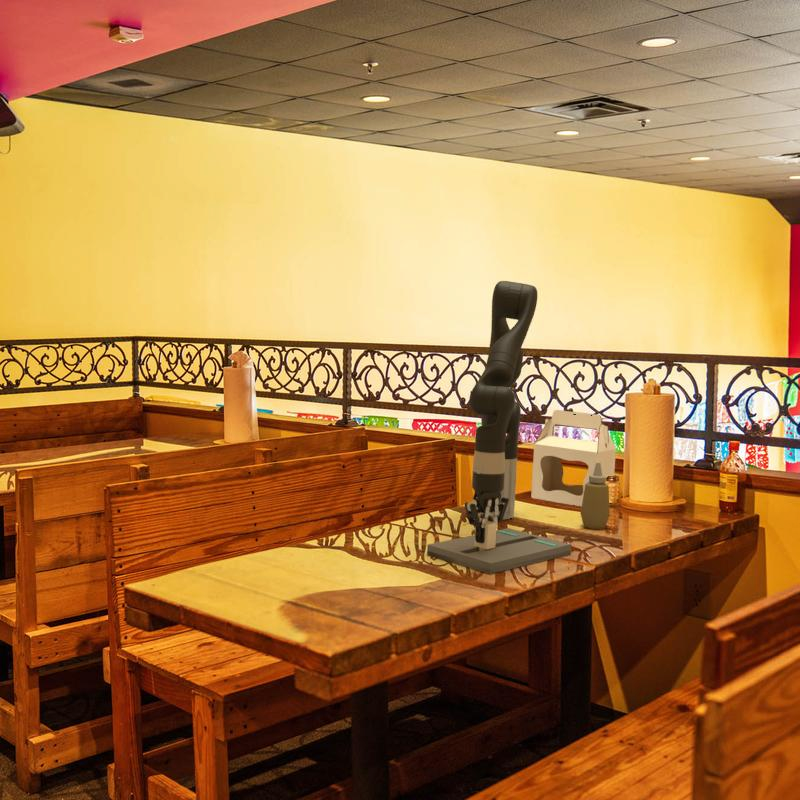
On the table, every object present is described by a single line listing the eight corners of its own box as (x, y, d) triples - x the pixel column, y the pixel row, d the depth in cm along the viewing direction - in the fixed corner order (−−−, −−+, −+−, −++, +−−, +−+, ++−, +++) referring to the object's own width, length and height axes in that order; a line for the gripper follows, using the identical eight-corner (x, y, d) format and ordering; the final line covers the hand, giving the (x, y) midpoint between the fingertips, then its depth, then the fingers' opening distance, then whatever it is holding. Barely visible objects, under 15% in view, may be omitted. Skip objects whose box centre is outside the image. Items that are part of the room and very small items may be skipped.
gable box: (613, 503, 304) (619, 414, 301) (594, 509, 294) (600, 417, 291) (550, 492, 317) (555, 407, 315) (530, 498, 307) (535, 410, 304)
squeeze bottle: (611, 531, 266) (616, 466, 264) (582, 529, 266) (586, 464, 264) (606, 524, 274) (610, 461, 272) (577, 523, 274) (581, 460, 272)
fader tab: (473, 551, 232) (475, 521, 231) (482, 549, 234) (483, 519, 233) (486, 555, 229) (488, 524, 228) (494, 553, 231) (496, 522, 230)
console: (427, 554, 232) (427, 543, 232) (507, 537, 253) (508, 527, 253) (490, 574, 218) (491, 562, 218) (570, 554, 239) (571, 543, 239)
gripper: (496, 465, 237) (492, 534, 239) (456, 470, 227) (453, 542, 229) (520, 469, 232) (516, 540, 233) (480, 475, 222) (477, 549, 224)
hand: (484, 541), depth 231 cm, fingers closed on fader tab, 3 cm apart
